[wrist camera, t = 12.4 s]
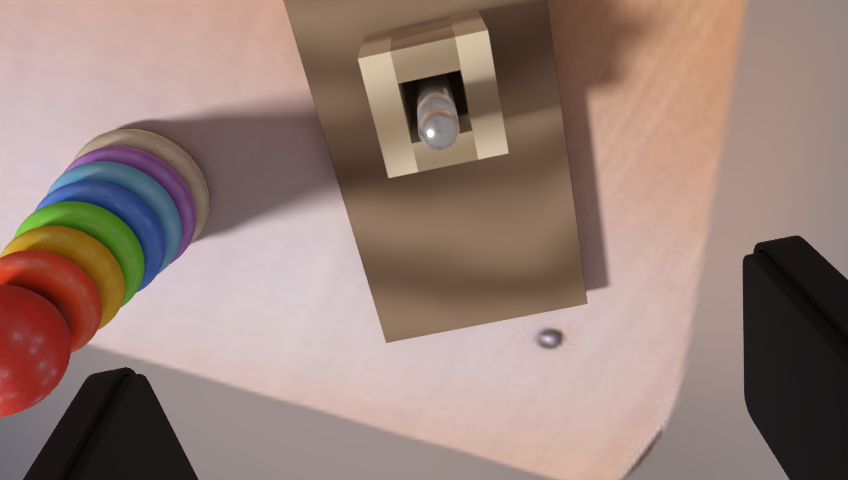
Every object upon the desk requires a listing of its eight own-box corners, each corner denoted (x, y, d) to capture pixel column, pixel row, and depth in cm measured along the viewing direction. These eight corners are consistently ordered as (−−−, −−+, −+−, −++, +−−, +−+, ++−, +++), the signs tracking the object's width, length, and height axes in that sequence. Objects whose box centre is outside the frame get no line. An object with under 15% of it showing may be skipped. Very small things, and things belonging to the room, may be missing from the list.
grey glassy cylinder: (412, 67, 38) (414, 120, 30) (446, 60, 37) (456, 111, 30) (420, 100, 38) (423, 160, 31) (452, 92, 38) (464, 150, 30)
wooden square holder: (363, 35, 37) (357, 58, 32) (478, 10, 36) (487, 29, 32) (390, 143, 40) (388, 178, 35) (497, 120, 39) (508, 153, 35)
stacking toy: (211, 131, 41) (76, 314, 24) (214, 253, 44) (99, 486, 28) (68, 117, 40) (-171, 294, 23) (84, 242, 44) (-114, 472, 27)
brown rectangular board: (285, -12, 37) (281, -7, 36) (532, -71, 36) (537, -68, 35) (386, 329, 47) (386, 342, 46) (582, 291, 46) (587, 303, 45)
